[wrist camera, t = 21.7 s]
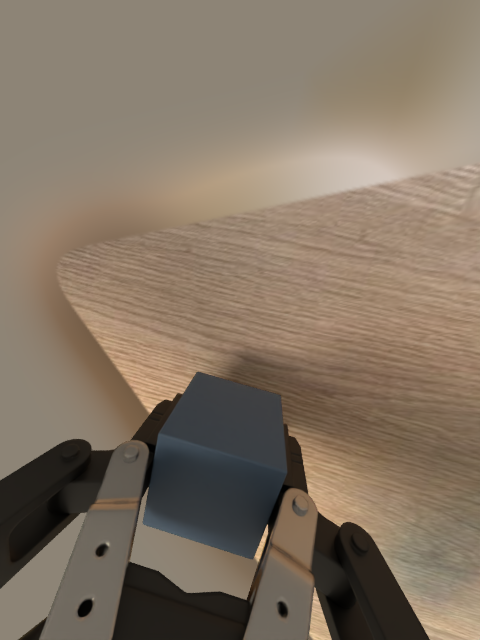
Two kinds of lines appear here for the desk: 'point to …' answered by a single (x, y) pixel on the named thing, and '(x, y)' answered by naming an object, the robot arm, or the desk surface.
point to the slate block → (218, 465)
